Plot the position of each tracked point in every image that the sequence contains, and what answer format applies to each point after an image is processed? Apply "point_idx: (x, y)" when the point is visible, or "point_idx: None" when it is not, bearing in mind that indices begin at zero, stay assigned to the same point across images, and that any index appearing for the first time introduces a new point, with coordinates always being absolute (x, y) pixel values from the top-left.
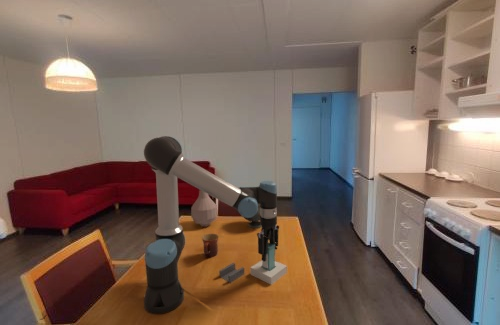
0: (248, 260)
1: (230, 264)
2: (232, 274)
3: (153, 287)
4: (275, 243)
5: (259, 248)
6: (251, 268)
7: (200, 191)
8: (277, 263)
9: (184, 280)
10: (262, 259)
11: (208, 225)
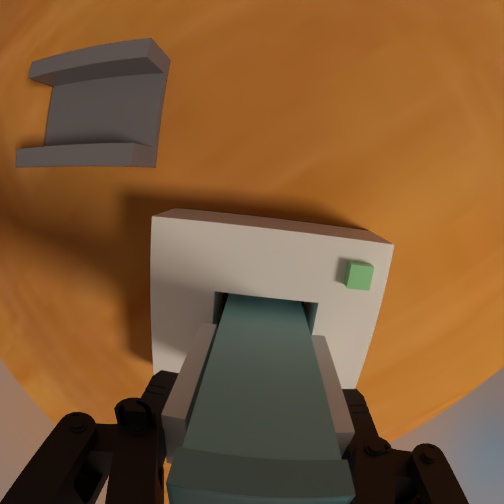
0: (343, 72)
1: (115, 45)
2: (32, 159)
3: None
4: (409, 492)
5: (36, 478)
6: (152, 229)
7: None
8: (342, 370)
9: (9, 4)
10: (151, 387)
11: None
